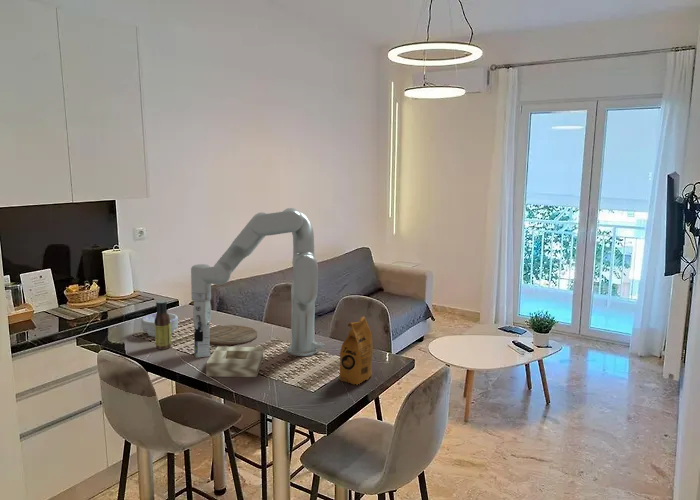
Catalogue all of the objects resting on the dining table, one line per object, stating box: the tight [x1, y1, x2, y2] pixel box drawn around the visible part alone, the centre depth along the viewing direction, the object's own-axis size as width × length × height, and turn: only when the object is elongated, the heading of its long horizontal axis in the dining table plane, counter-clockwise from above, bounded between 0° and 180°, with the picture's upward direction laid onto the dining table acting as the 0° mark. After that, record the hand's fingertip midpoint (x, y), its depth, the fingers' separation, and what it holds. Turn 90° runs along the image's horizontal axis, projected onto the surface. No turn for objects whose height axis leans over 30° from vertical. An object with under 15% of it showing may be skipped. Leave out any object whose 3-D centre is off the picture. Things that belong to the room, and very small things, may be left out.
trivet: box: [210, 325, 258, 347], centre depth 233 cm, size 25×25×2 cm
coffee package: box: [339, 316, 374, 386], centre depth 188 cm, size 10×12×22 cm
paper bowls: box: [141, 312, 179, 338], centre depth 234 cm, size 15×15×8 cm
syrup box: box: [193, 321, 211, 359], centre depth 208 cm, size 6×6×14 cm
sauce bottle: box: [154, 300, 172, 350], centre depth 215 cm, size 6×6×20 cm
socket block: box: [205, 346, 264, 378], centre depth 197 cm, size 18×18×5 cm
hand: (201, 337), depth 208 cm, fingers open, 9 cm apart
